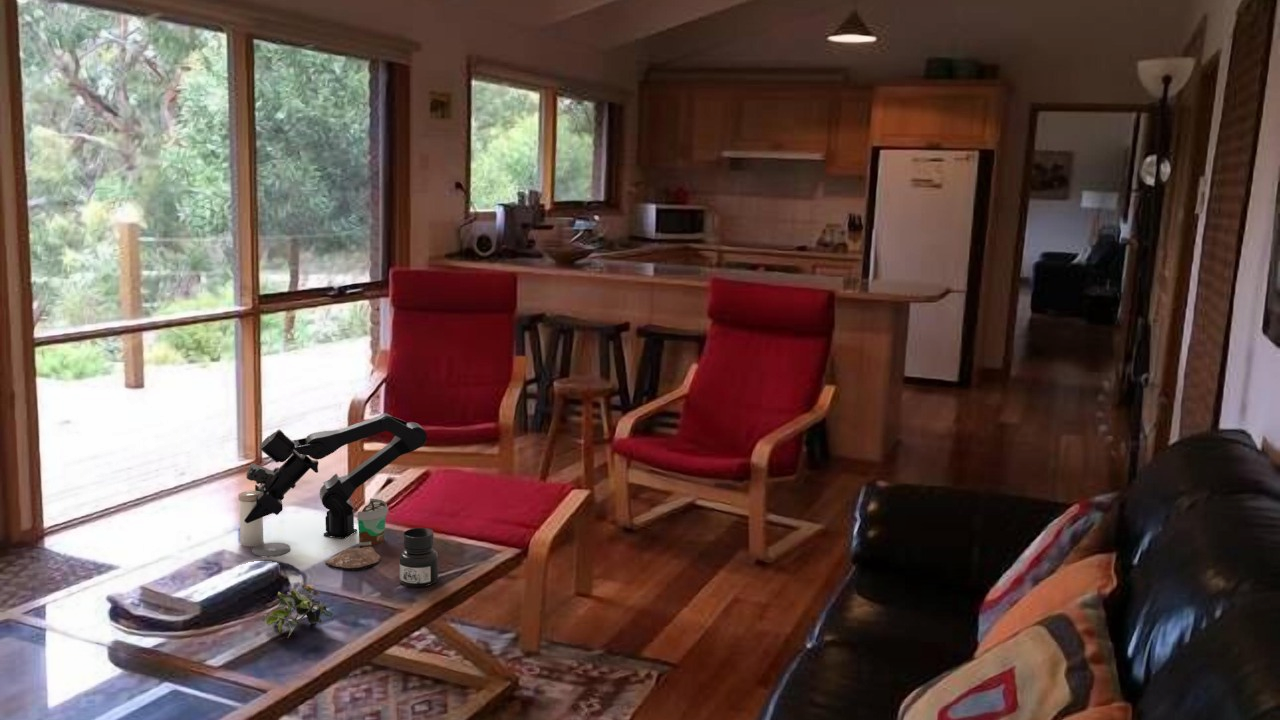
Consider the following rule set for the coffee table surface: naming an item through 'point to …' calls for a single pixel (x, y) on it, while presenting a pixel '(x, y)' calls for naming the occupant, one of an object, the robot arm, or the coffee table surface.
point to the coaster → (271, 549)
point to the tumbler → (254, 530)
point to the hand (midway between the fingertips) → (245, 518)
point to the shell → (354, 559)
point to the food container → (372, 523)
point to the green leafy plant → (298, 608)
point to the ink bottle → (418, 558)
